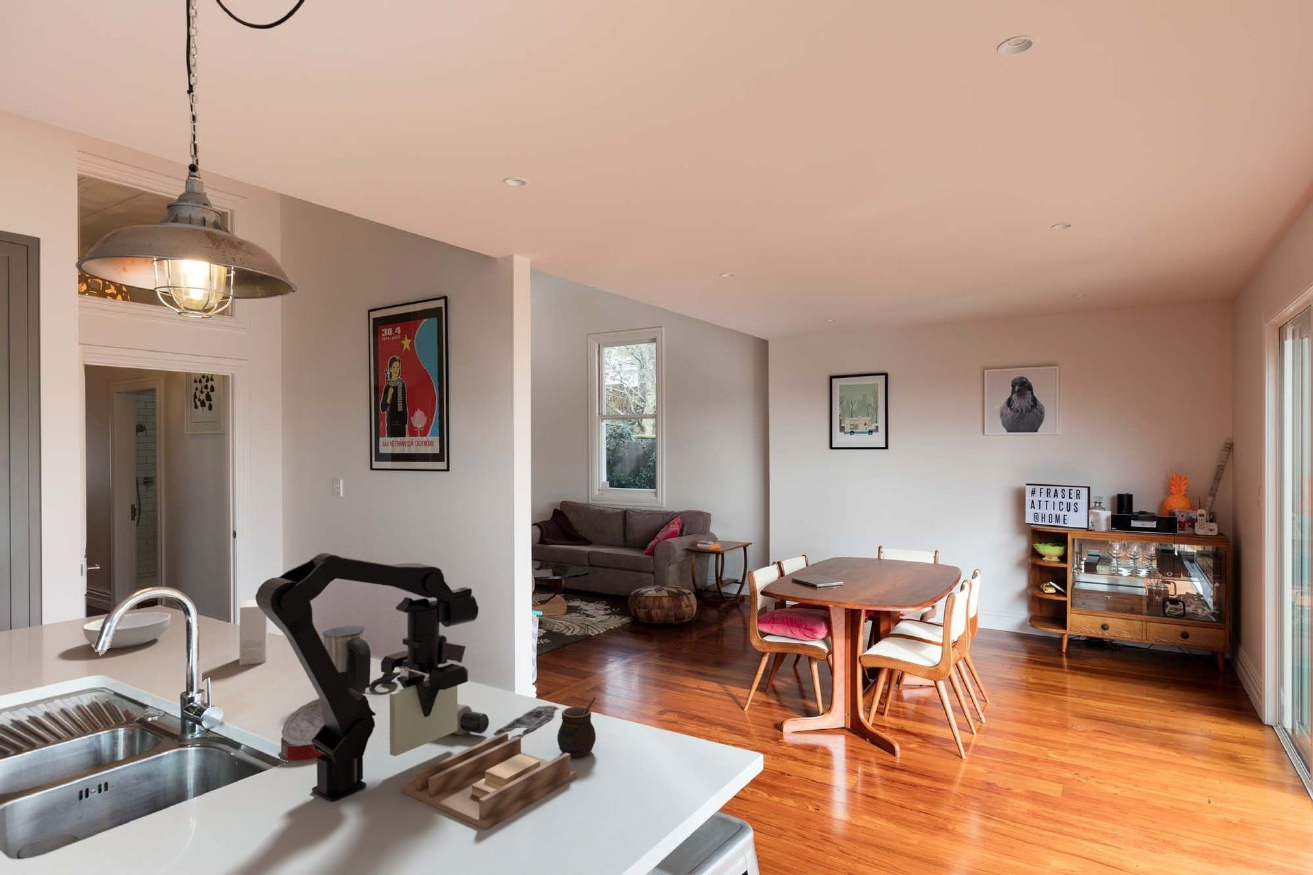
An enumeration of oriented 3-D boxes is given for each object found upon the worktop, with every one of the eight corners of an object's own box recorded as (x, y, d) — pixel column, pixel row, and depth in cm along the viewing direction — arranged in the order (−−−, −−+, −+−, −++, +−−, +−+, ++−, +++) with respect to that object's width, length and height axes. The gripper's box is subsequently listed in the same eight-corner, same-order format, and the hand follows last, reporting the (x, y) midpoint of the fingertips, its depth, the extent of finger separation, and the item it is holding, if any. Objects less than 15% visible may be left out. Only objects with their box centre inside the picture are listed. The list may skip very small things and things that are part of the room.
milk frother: (313, 697, 170) (313, 633, 170) (362, 676, 185) (361, 617, 185) (363, 704, 165) (362, 639, 165) (409, 682, 180) (408, 621, 180)
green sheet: (395, 756, 132) (395, 695, 132) (389, 754, 133) (389, 693, 132) (457, 730, 143) (457, 674, 143) (452, 728, 144) (451, 672, 144)
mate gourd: (549, 752, 140) (549, 699, 140) (582, 741, 145) (582, 690, 145) (570, 765, 135) (570, 710, 134) (604, 753, 139) (604, 700, 139)
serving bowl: (166, 630, 229) (166, 608, 229) (175, 644, 213) (175, 621, 213) (81, 642, 216) (81, 619, 216) (84, 659, 200) (84, 634, 200)
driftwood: (543, 707, 164) (543, 698, 164) (568, 713, 161) (568, 703, 161) (481, 743, 146) (480, 733, 146) (507, 750, 143) (507, 739, 143)
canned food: (339, 768, 144) (357, 727, 142) (289, 783, 136) (308, 739, 134) (312, 729, 150) (329, 689, 148) (263, 741, 142) (281, 699, 140)
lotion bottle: (392, 720, 151) (473, 736, 144) (402, 692, 154) (481, 706, 146) (409, 725, 156) (488, 741, 148) (418, 697, 158) (496, 711, 151)
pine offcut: (496, 804, 119) (496, 794, 119) (471, 793, 122) (471, 784, 122) (544, 777, 128) (544, 768, 127) (519, 768, 131) (519, 760, 131)
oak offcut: (505, 787, 121) (505, 778, 121) (485, 779, 124) (485, 770, 124) (540, 769, 127) (540, 760, 127) (519, 762, 130) (519, 753, 130)
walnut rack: (485, 829, 113) (485, 803, 113) (401, 791, 125) (401, 768, 125) (576, 776, 130) (576, 754, 130) (494, 747, 142) (494, 727, 142)
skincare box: (241, 657, 201) (241, 600, 200) (269, 654, 203) (268, 598, 203) (239, 666, 193) (238, 607, 193) (267, 662, 196) (266, 604, 196)
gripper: (490, 629, 139) (490, 712, 139) (427, 616, 149) (427, 692, 150) (442, 643, 130) (442, 731, 130) (379, 627, 140) (379, 709, 140)
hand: (423, 714), depth 138 cm, fingers closed on green sheet, 2 cm apart
